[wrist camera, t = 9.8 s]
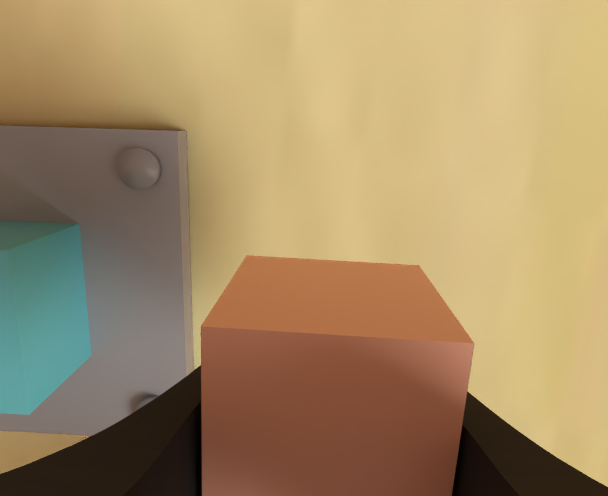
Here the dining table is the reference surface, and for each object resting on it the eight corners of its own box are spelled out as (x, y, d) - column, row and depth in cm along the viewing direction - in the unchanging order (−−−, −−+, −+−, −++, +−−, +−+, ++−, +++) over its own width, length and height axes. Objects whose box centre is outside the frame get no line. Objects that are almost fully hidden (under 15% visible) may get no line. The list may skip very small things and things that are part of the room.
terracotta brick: (396, 467, 13) (431, 632, 9) (242, 456, 13) (202, 613, 9) (419, 265, 12) (473, 343, 7) (246, 255, 12) (201, 326, 8)
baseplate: (195, 425, 23) (185, 447, 21) (-62, 411, 23) (-92, 432, 22) (186, 130, 19) (173, 130, 18) (-115, 121, 20) (-155, 120, 18)
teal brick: (91, 355, 21) (29, 414, 16) (-5, 351, 21) (-92, 408, 16) (79, 223, 19) (7, 250, 15) (-24, 220, 19) (-125, 245, 15)
